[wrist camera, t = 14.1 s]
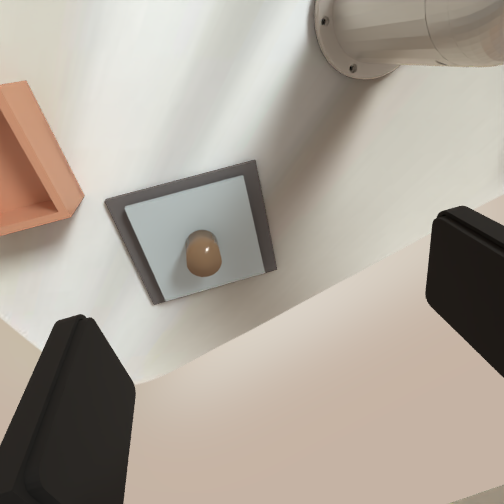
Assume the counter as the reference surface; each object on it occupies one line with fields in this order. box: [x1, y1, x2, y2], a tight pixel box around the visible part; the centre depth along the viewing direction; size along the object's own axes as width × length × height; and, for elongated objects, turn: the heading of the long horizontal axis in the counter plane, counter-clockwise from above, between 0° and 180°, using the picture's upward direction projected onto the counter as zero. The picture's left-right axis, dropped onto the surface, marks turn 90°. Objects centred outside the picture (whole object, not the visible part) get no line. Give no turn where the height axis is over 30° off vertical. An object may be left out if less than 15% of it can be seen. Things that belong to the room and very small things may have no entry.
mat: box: [105, 160, 277, 305], centre depth 43 cm, size 18×16×1 cm
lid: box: [125, 175, 265, 301], centre depth 41 cm, size 14×14×6 cm
